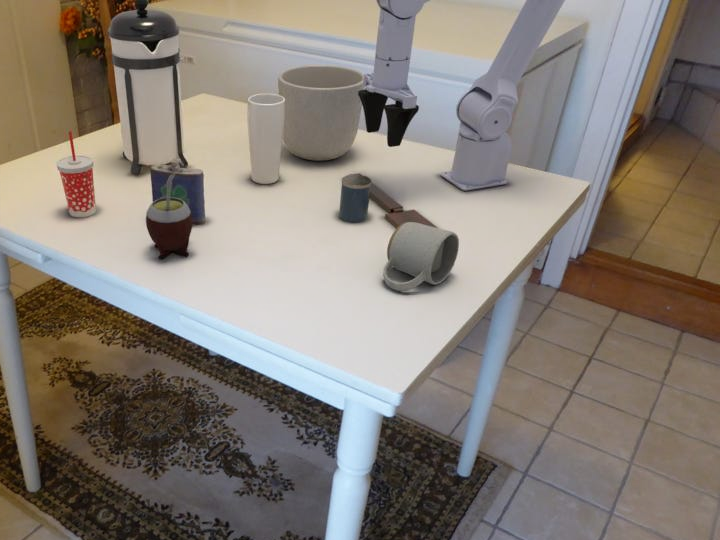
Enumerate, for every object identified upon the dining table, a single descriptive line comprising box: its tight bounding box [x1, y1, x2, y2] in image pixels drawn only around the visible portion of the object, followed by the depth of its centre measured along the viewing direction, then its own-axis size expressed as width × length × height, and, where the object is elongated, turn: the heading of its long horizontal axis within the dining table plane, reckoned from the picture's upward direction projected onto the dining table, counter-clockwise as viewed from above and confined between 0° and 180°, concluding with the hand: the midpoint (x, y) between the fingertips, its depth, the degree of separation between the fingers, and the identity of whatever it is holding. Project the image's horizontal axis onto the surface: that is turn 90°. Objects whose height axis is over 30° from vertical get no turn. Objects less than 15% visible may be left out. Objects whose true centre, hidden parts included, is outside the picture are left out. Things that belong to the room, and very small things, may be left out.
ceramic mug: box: [382, 222, 460, 292], centre depth 98 cm, size 11×8×8 cm
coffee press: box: [107, 0, 189, 176], centre depth 129 cm, size 17×16×30 cm
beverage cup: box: [55, 130, 97, 218], centre depth 115 cm, size 6×6×14 cm
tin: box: [338, 174, 373, 223], centre depth 115 cm, size 5×5×6 cm
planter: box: [277, 64, 366, 162], centre depth 136 cm, size 17×17×15 cm
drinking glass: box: [246, 93, 285, 185], centre depth 125 cm, size 7×7×15 cm
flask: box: [149, 158, 206, 225], centre depth 113 cm, size 9×3×11 cm, turn 74°
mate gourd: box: [145, 173, 194, 261], centre depth 102 cm, size 8×8×15 cm
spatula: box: [350, 172, 438, 229], centre depth 120 cm, size 6×26×1 cm, turn 19°
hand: (382, 138), depth 120 cm, fingers open, 7 cm apart
